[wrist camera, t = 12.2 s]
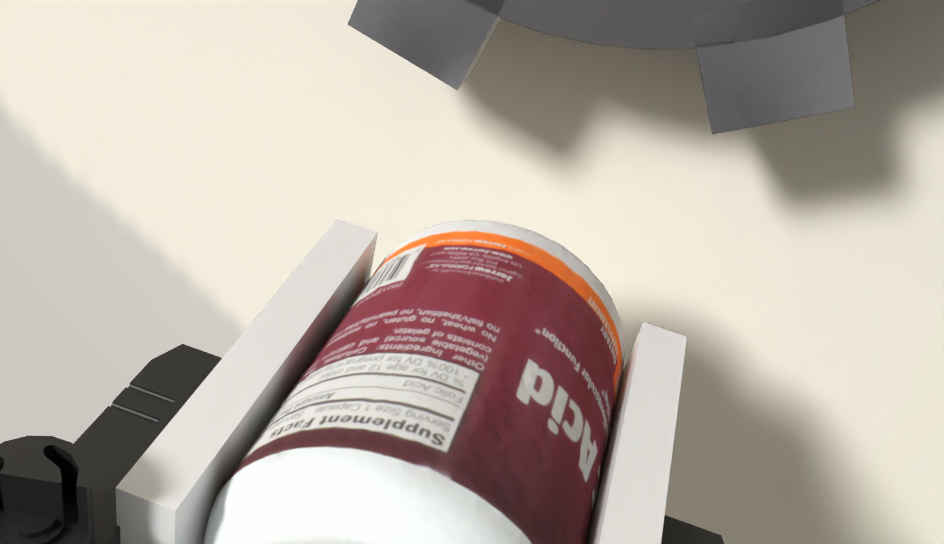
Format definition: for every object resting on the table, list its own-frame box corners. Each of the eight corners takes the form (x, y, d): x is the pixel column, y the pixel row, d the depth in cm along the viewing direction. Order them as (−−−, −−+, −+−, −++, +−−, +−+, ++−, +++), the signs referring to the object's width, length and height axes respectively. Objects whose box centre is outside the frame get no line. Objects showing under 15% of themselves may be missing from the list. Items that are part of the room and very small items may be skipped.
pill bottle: (643, 431, 17) (558, 944, 10) (405, 426, 18) (189, 864, 11) (610, 199, 14) (465, 656, 7) (342, 218, 16) (20, 608, 9)
